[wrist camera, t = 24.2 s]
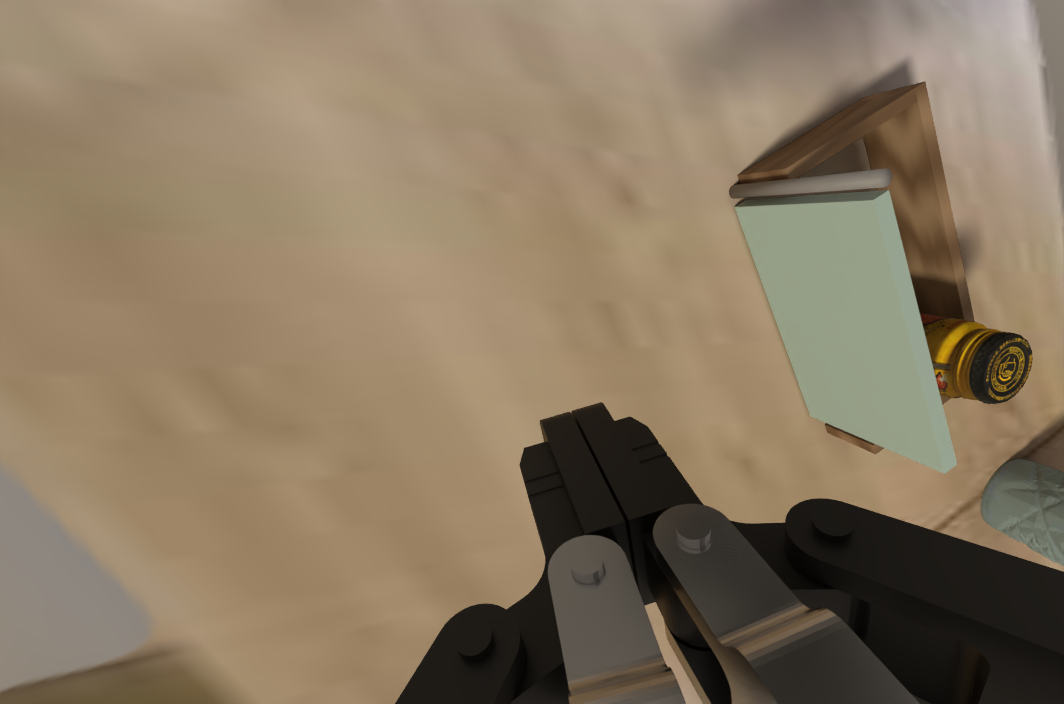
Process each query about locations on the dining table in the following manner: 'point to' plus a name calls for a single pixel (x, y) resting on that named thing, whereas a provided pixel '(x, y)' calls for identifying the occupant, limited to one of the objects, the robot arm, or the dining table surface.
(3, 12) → the dining table surface
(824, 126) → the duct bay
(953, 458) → the cover door
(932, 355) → the condiment
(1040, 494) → the blue-grey cup
